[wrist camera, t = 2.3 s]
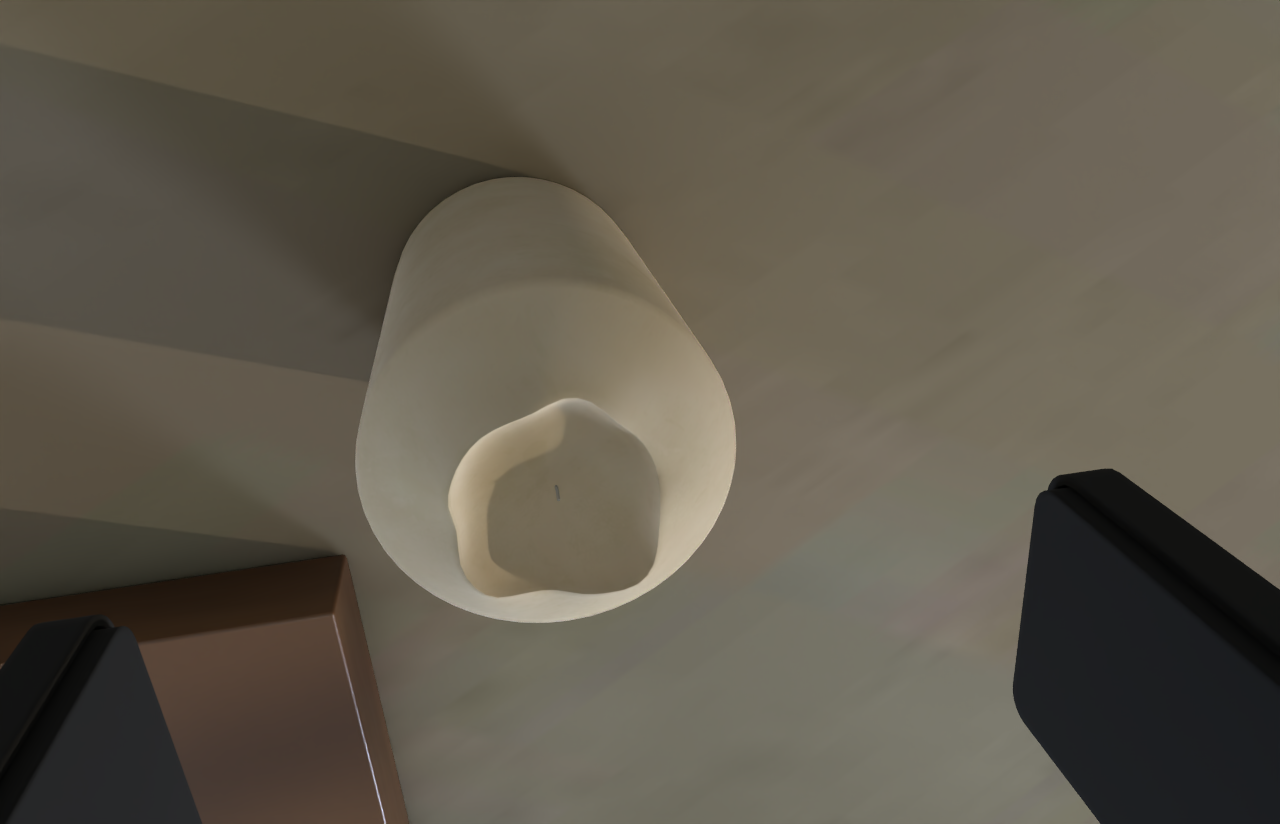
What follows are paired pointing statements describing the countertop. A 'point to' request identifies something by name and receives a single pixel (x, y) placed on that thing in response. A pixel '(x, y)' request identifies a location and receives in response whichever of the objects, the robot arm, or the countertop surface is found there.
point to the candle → (538, 411)
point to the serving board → (256, 689)
